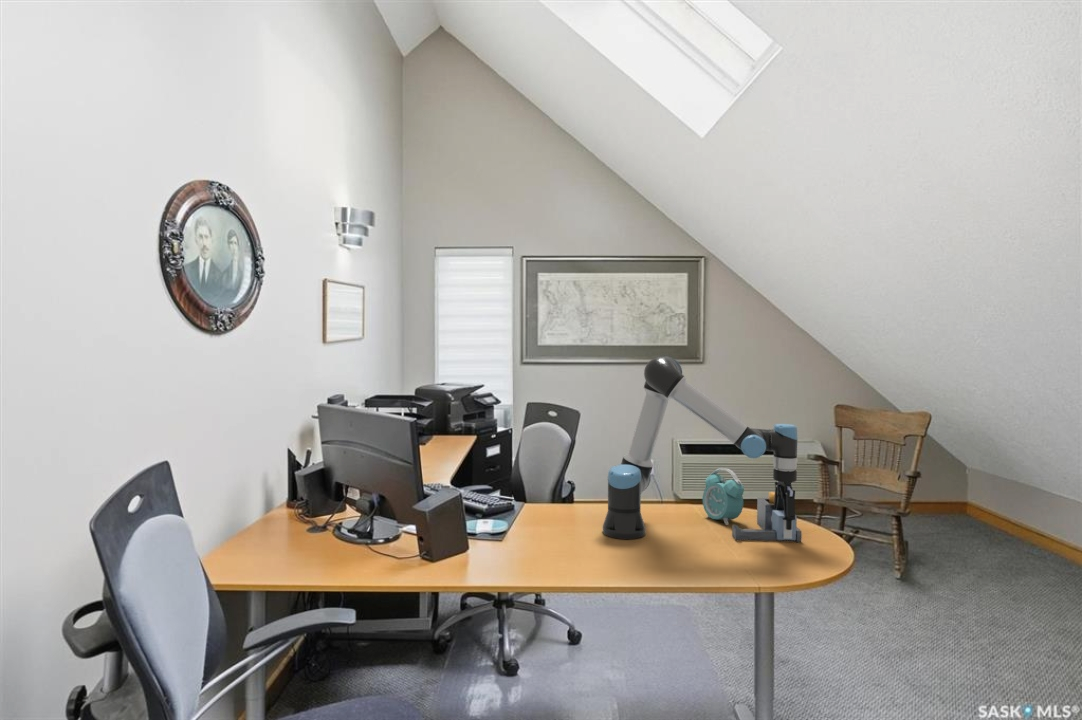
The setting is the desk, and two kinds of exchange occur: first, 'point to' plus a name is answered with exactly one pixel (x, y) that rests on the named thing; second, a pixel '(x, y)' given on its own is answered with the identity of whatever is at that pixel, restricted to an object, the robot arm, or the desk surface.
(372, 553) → the desk surface
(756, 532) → the rail
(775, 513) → the block
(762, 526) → the cabinet
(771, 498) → the button
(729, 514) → the alarm clock
